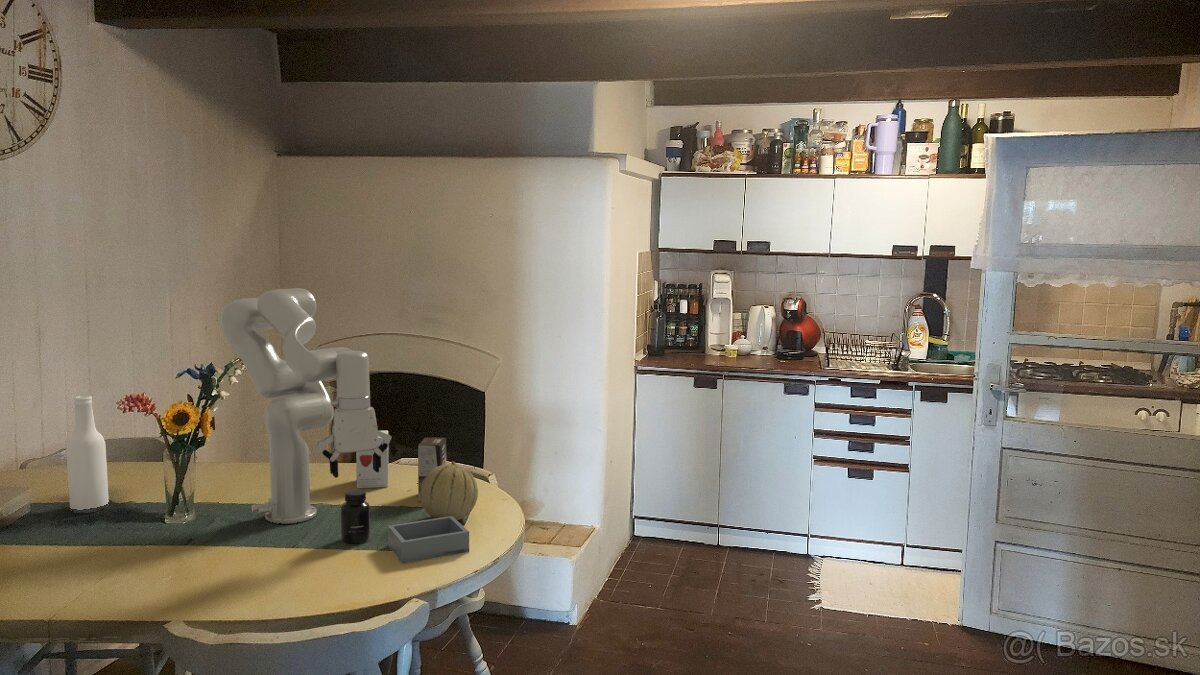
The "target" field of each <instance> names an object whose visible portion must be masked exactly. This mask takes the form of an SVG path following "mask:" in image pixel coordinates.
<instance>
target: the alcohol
mask: <svg viewBox="0 0 1200 675" xmlns="http://www.w3.org/2000/svg"><path fill="white" fill-rule="evenodd" d="M73 400H74V429H73V433H71V435H70V436H69V438H68V439H67V441H66V445H65V451H66V452H65V453H66V463H67V464H66V465H67V466H66V467H67V480H68V496H69V498H68V499H69V509H70V508H71V509H77V510H83V509H90V508H97V507H100V506H104V505H106V504H108V502H109V503H110V501H109V500H110V498H109V482H108V465H107V449H106V448H107V446H106V441H105V438H104V436H103V434H101V433H100V432H99V431H98V430H97V428H96V423H95V415H94V408H93V397H92V396H91V395H84V394H83V395H78V396H75V397H74V398H73ZM108 505H109V504H108ZM71 509H70V510H71Z"/></svg>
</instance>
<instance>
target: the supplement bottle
mask: <svg viewBox="0 0 1200 675" xmlns="http://www.w3.org/2000/svg"><path fill="white" fill-rule="evenodd" d="M366 495H367V493H366V491H365V490H363V489H350V490H347V491H345V493H344V502H343V503H342V505H341V506H340V541H341V543H343V544H347V545H353V546H354V545H361V544H365V543H367V542H368V541H369V540H370V537H371V535H370V534H371V506H370V503H369V502H368V501H366V500H367V497H366Z"/></svg>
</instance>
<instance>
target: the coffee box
mask: <svg viewBox="0 0 1200 675" xmlns="http://www.w3.org/2000/svg"><path fill="white" fill-rule="evenodd" d="M417 454H418V455H417V458H418V459H417V461H418V463H417V465H418V466H417V470H418V471H417V474H418V476H417V488H418V489H417V492H418V493H417V500H418V502H421V499H420V488H421V485H422V482H423V480H424V479H425V477H426V476H427V474H428V473H429V472H430V471H431V470H433V469H434V468H436V467H438V466H441V465H447V437H424V438H423V439H422V440H421V441H420V443H419V444H418V445H417Z"/></svg>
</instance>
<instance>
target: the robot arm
mask: <svg viewBox="0 0 1200 675" xmlns="http://www.w3.org/2000/svg"><path fill="white" fill-rule="evenodd" d="M316 312H317V301H316V298H315V297H314V294H312V293H311V292H310V291H309V290H308V289H306V288H302V287H301V288H300V287H297V288H296V287H295V288H277V289H272V290H268V291H266V292H264V293H263V294H261V295H260V296H259V297H249V298H247V297H246V298H241V299H236V300H232V301H231V302H228V303H226V305H224V307H223V309H222V312H221V321H220V322H221V327H222V330H223V334H224V336H225V338H226V340H227V341H228V343H229V344H230V345H231V348H232V350H234V351H235V352H236V354H237V355H238V356H239V359H242V360H243V361H242V360H241V362H242V364H243V367H244V368H245V370H246V372H247V374H248V377H249V378H250V380H251V382H252V384H253V387H254V388H255V390H256V392H257V393H258V394H259V396H261V397H262V398H263V399H272V400H271V401H269V403H267V405H266V406H265V408H264V412H263V417H264V423H265V428H266V433H267V438H268V445H269V468H270V469H269V471H270V473H269V474H270V475H269V476H270V498H268V501H267V502H264V503H263V504H262V503H261V504H259V503H258V504H252V505H251V511H252V512H251V513H258V515H260V514H264V517H265V520H266V521H267V520H268V521H267V522H269V521H270V522H269V523H272V522H273V524H279V523H281V525H286V524H287V525H288V524H298V523H302V522H306V521H309V520H311V519H313V518H314V517H316V516H317V512H318V511H317V508H316V507H315V506H313V505H311V487H310V485H311V483H310V482H311V481H310V477H311V476H310V450H309V447H308V446H309V445H308V444H307V442H306V441H305V440H304V438H303V437H302V435H301V433H302V432H305V431H309V430H314V429H318V428H323V427H325V426H327V425H329V424H330V423H331V422H332V431H331V433H330V435H328V436H326V437H325V438H323V439H322V440H320V441H319V442H316V445H317V447H318V449H319V451H320V452H321V454H322V455H323V456H324V457H326V458H327V459H328V460H329V473H330V474H331V475H332V476H333V477H334V478H335V479H337V478H338V477H339V461H338V460H337V458H338V457H339V456H340V455H341V454H350V453H351V454H353V453H356V452H361V451H369V450H373V451H374V454H373V470H374V471H375V472H379V468H381V455H382V454H383V452H384V451H385V450H386V449H387V447H388V448H389V444H390V443H391V440H392V436H391V435H390V434H389V433H388V434H386V433H383V432H381V431H382V430H378V423H377V417H376V412H375V409H374V407H373V406H371V390H370V389H371V387H370V382H371V381H370V358H369V355H368V353H367V352H365V351H363V350H352V349H350V348H348V347H346V346H337V347H330V348H322V349H320V348H319V349H313V350H309V349H307V348H306V347H305V346H304V345H305V344H307V343H308V342H310V340H311V339H312V338H313V336H314V335H315V333H316V329H317V323H316V321H315V319H314V318H313V317H314V316H315V314H316ZM259 330H260V331H261V330H275V332H276V333H277V334H278V335H279V336H280V337H281V338H282V339H283V342H282V353H283V357H284V358H283V359H282V358H280V357H279V355H278V353H277V352H276V349H275V347H274V346H273V345H272V343H271V342H270V341H269V340H268V339H267V338H265V337H264V336H263V335H260V334H259V333H257V332H256V331H259ZM328 380H335V381H336V397H335V399H333V400H332V399H331V398H330V395H329V394H328V391H327V389H326V388H325V385H324V384H323V382H322V381H328ZM334 407H335V408H336V409H334ZM378 436H379V437H381V438H384V440H383V443H382V444H381V445H380V446H379V447H378ZM330 443H331V444H332V450H331V451H328V449H327V448H326V446H327V445H329V444H330ZM297 522H298V523H297Z"/></svg>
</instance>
